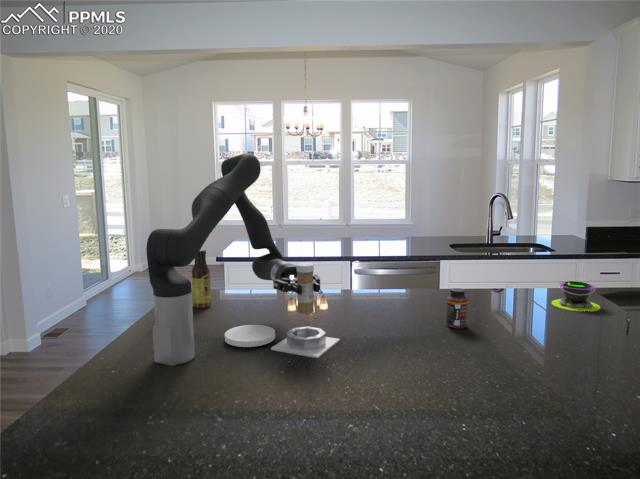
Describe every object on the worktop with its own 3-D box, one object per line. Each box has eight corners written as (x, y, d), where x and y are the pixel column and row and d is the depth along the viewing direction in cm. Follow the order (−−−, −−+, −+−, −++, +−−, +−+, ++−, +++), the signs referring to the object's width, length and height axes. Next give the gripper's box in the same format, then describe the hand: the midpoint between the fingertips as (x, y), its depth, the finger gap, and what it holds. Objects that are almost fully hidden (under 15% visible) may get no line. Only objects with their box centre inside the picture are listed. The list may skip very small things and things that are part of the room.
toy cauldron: (555, 310, 166) (557, 277, 164) (548, 298, 180) (550, 268, 179) (605, 313, 162) (608, 280, 160) (594, 301, 176) (597, 270, 174)
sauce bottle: (208, 309, 170) (206, 251, 167) (190, 309, 170) (187, 252, 167) (213, 303, 176) (211, 248, 173) (195, 303, 176) (193, 248, 173)
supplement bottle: (462, 330, 146) (463, 293, 144) (442, 326, 150) (444, 290, 148) (469, 325, 151) (470, 289, 149) (450, 321, 154) (452, 286, 153)
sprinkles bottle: (307, 308, 137) (306, 261, 135) (317, 312, 134) (317, 263, 132) (293, 312, 135) (292, 263, 132) (304, 316, 131) (303, 266, 129)
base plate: (318, 358, 126) (318, 356, 126) (270, 349, 132) (270, 348, 132) (339, 340, 139) (340, 338, 139) (295, 333, 145) (295, 331, 145)
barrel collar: (314, 352, 129) (314, 341, 128) (281, 346, 133) (281, 335, 133) (330, 340, 138) (330, 329, 137) (298, 335, 142) (298, 325, 141)
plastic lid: (214, 345, 137) (214, 336, 136) (244, 330, 149) (244, 322, 149) (256, 354, 130) (256, 344, 130) (284, 337, 143) (284, 328, 142)
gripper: (263, 265, 142) (283, 278, 127) (308, 261, 148) (334, 273, 133) (263, 290, 144) (284, 307, 128) (309, 285, 149) (334, 300, 134)
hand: (309, 289), depth 131 cm, fingers closed on sprinkles bottle, 4 cm apart
